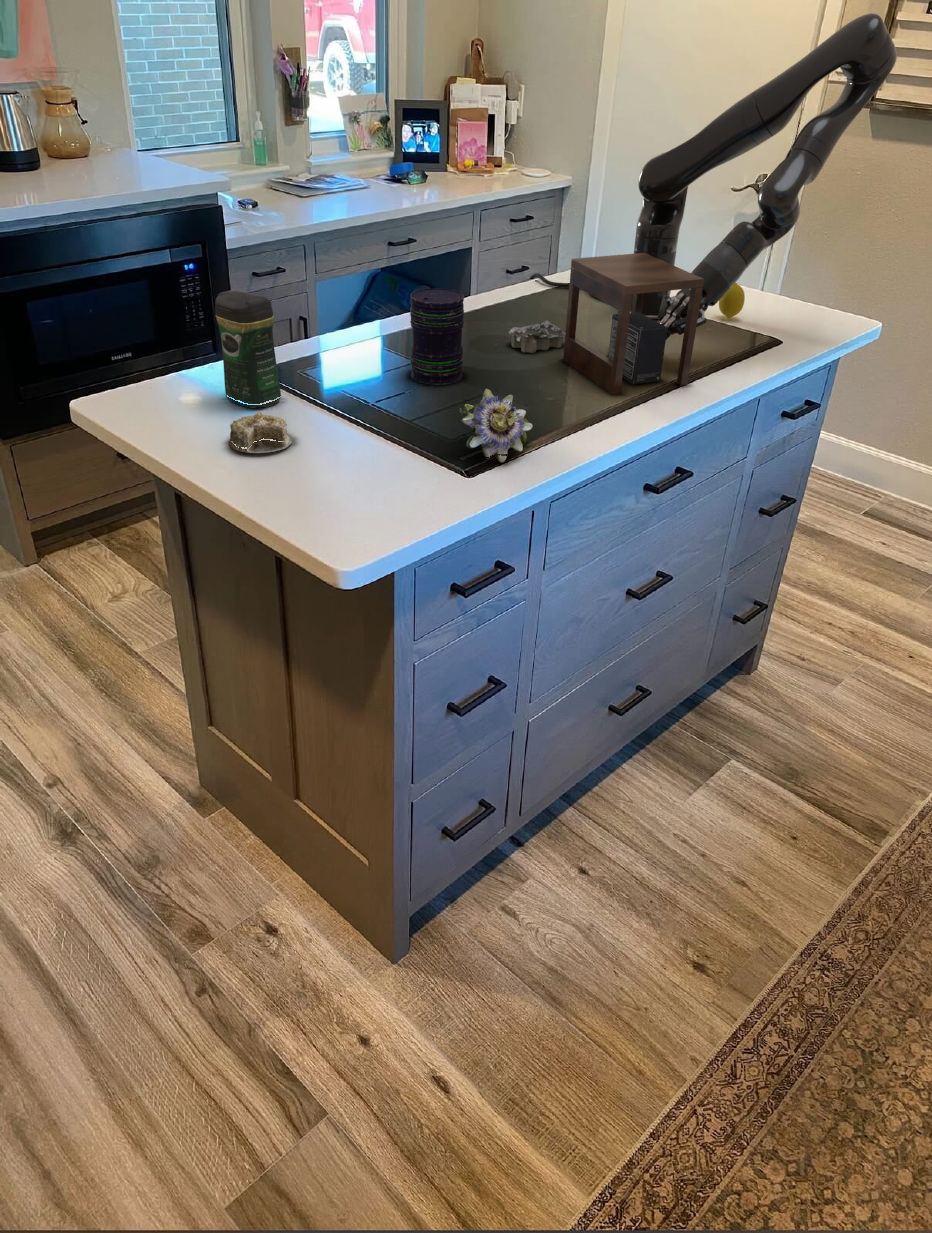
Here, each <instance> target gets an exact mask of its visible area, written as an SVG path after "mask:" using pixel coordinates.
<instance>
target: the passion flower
mask: <svg viewBox="0 0 932 1233" xmlns="http://www.w3.org/2000/svg"><path fill="white" fill-rule="evenodd" d="M513 399H514V396H513V394H508V395H506V396H504V397H503V398H502V399H499V395H493V393H492V391H491V390H490V389H488V388H485V390H484V391H483V394H482V399H481V400H480V402H478V403H476V404H474V405H472V404H468V403H465V404H464V405H463V409H462V408H461V407H459V409H458V413H459V414H460V416H461V418H462V419H461V420H460V423H462V424H463V425H465V426H467V427H469V428H471V430H472V432H473V435H471V436H470V437H469V438H468V440H467V441H466V447H467V449H474V448H477V447H478V446H481V450H482V453H483V456H484V458H485V459H486V460H489V459H491V457H493V456H494V455H495V454H496V455H497V454H507V456H501V455H500V456H494V457H495V458H496V459H497V461H498V462H499V463H501V464H502V463H504V462H505V461H506V460H507V457H508V450H509V449H510V448H511V449H513V450H514V451H516V452H519V453H520V452H522V451H523V450H524V447H523V446H524V445H525V444H526V442H527V439H528V436H527V433H526V432H529V431H531V430H532V429H533V427H534V426H533V423H531V422H529V421H528V419H526V418H525V416H526V414H527V411H526V410H525V409H522V408H521V409H520V408H519V409H518V407H516V406H512V405H516V404H515V403H513ZM473 408H474V409H473ZM472 409H473V411H472V412H470V410H472ZM466 414H467V415H466ZM492 455H493V456H492ZM490 456H491V457H490ZM486 457H489V458H486Z"/></svg>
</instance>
